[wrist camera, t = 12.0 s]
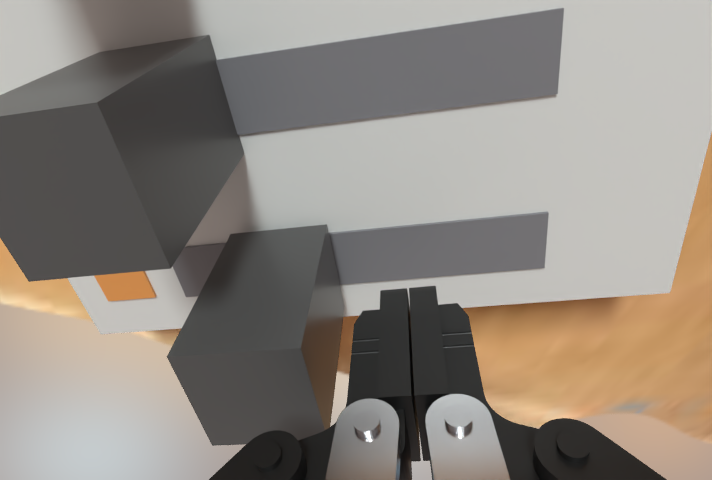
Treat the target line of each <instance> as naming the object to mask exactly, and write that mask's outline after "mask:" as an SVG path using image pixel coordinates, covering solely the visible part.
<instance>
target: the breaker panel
mask: <svg viewBox="0 0 712 480" xmlns="http://www.w3.org/2000/svg"><path fill="white" fill-rule="evenodd" d="M711 132H712V0H0V238H1V239H2V241H3V243H4V244H5V246H6V247H7V249H8V250H9V252H10V253H11V255H12V256H13V258H14V259H15V261H16V262H17V264H18V265H19V267H20V269H21V270H22V272H23V273H24V275H25V276H26V278H27V279H28V281H40V280H51V279H62V278H68V280H69V282H70V283H71V285H72V287H73V288H74V290H75V292H76V293H77V295H78V297H79V299H80V300H81V302H82V304H83V305H84V307H85V309H86V310H87V312H88V314H89V315H90V317H91V319H92V320H93V322H94V324H95V325H96V327H97V329H98V330H99V332H100V334H111V333H125V332H139V331H153V330H167V329H180V328H182V327H183V325H184V323H185V321H186V319H187V317H188V315H189V313H190V311H191V310H192V308H193V306H194V304H195V302H196V300H197V298H198V296H199V294H200V292H201V290H202V288H203V286H204V284H205V283H206V281H207V279H208V277H209V275H210V273H211V271H212V269H213V267H214V265H215V263H216V261H217V259H218V258H219V256H220V254H221V252H222V250H223V248H224V246H225V244H226V242H227V240H228V238H229V236H230V234H234V233H244V232H254V231H264V230H275V229H285V228H295V227H305V226H315V225H325V224H327V226H328V231H329V235H330V240H331V245H332V249H333V254H334V259H335V264H336V268H337V273H338V278H339V282H340V287H341V292H342V296H343V301H344V306H345V307H344V315H343V317H345V316H359V315H361V313H362V311H366V310H378V309H380V291H381V290H391V289H403V288H407V291H408V298H409V288H414V287H425V286H436V292H437V300H438V305H440V304H453V303H458V304H459V305H460V307H461V308H469V307H482V306H496V305H510V304H524V303H537V302H551V301H565V300H579V299H592V298H606V297H620V296H634V295H647V294H661V293H670V291H671V287H672V283H673V279H674V275H675V271H676V268H677V264H678V260H679V256H680V252H681V248H682V244H683V240H684V236H685V233H686V229H687V225H688V221H689V217H690V213H691V209H692V205H693V202H694V198H695V194H696V190H697V186H698V182H699V178H700V174H701V171H702V167H703V163H704V159H705V155H706V151H707V147H708V143H709V140H710V136H711ZM409 306H410V298H409Z"/></svg>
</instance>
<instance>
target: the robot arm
mask: <svg viewBox="0 0 712 480" xmlns="http://www.w3.org/2000/svg"><path fill="white" fill-rule="evenodd" d="M409 298H410V306H409ZM409 298H408V291H407V288H403V289H391V290H381V291H380V309H378V310H366V311H362V313H361V315H360V316H359V318H358V319H357V321H356V322H355V324H354V331H353V343H352V355H351V364H350V375H349V386H348V397H347V404H346V408H345V409H344V410H343V411H342V412H341V414H340V415H339V417H338V419H337V422H336V423H335V424H334V425H332V426H331V427H330V428H328V429H326V430H325V431H323V432H320V433H318V434H315V435H312V436H309V437H307V438H304V439H301V440H297V439H296V438H295V437H294V436H293V435H292V434H290V433H288V432H286V431H281V430H273V431H268V432H265V433H262V434H260V435H258V436H257V437H255V438H253V439H252V440H251V441H250V442H249V443H248V444H246V445H245V446H244V447H243V448H242V449H241V450H240V451H239V452H238V453H237V454H236V455H235V456H234V457H233V458H232V459H230V460H229V461H228V462H227V463H226V464H225V465H224V466H223V467H222V468H221V469H220V470H219V471H218V472H216V474H214V475H213V476H212V477H211V478H210V479H209V480H412V471H411V470H412V468H411V461H420V460H421V459H420V441H419V432H420V439H421V446H422V454H423V460H424V461H428V460H429V461H430V464H431V472H432V480H666V479H665V478H663V477H662V476H661V475H659V474H658V473H656V472H655V471H654V470H652V469H651V468H649V467H648V466H647V465H645V464H644V463H642V462H641V461H639V460H638V459H637V458H635V457H634V456H633V455H631V454H630V453H628V452H627V451H626V450H624V449H623V448H621V447H620V446H618V445H617V444H615V443H614V442H613V441H611V440H610V439H609V438H607V437H606V436H604V435H603V434H602V433H600V432H599V431H597V430H596V429H594V428H593V427H591V426H590V425H588V424H586V423H584V422H581V421H578V420H574V419H565V418H562V419H555V420H551V421H549V422H547V423H545V424H544V425H542V426H541V427H540V428H539V429H536V428H532V427H528V426H524V425H520V424H516V423H513V422H511V421H508V420H506V419H504V418H503V417H501V416H500V415H498V414H497V413H496V412H495V411H494V410H493V409H492V408H491V407H490V406H489V404H488V403H487V401H486V399H485V396H484V392H483V387H482V382H481V377H480V372H479V367H478V362H477V357H476V352H475V347H474V342H473V337H472V333H471V327H470V322H469V317H468V315H467V314H466V313H465V311H464V310H463V309H462V308H461V307H460V305H459V304H458V303H453V304H440V305H438V300H437V292H436V286H425V287H414V288H409Z"/></svg>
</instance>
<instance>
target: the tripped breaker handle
mask: <svg viewBox="0 0 712 480" xmlns="http://www.w3.org/2000/svg"><path fill="white" fill-rule="evenodd" d="M344 307H345V306H344V301H343V296H342V292H341V287H340V282H339V278H338V273H337V268H336V264H335V259H334V254H333V249H332V245H331V240H330V235H329V231H328V226H327V224H325V225H315V226H305V227H295V228H285V229H275V230H264V231H254V232H244V233H234V234H230V236H229V238H228V240H227V242H226V244H225V246H224V248H223V250H222V252H221V254H220V256H219V258H218V259H217V261H216V263H215V265H214V267H213V269H212V271H211V273H210V275H209V277H208V279H207V281H206V283H205V284H204V286H203V288H202V290H201V292H200V294H199V296H198V298H197V300H196V302H195V304H194V306H193V308H192V310H191V311H190V313H189V315H188V317H187V319H186V321H185V323H184V325H183V327H182V329H181V331H180V333H179V335H178V336H177V338H176V340H175V342H174V344H173V346H172V348H171V350H170V352H169V354H168V356H167V358H168V360H169V362H170V363H171V366H172V368H173V370H174V372H175V374H176V375H177V377H178V379H179V381H180V383H181V385H182V387H183V389H184V391H185V393H186V395H187V397H188V399H189V401H190V403H191V405H192V406H193V408H194V410H195V413H196V414H197V416H198V418H199V420H200V422H201V424H202V426H203V428H204V430H205V432H206V434H207V436H208V438H209V440H210V442H211V444H212V445H236V444H248V443H249V442H250V441H251V440H252V439H253V438H255V437H257V436H258V435H260V434H262V433H265V432H268V431H273V430H281V431H286V432H288V433H290V434H292V435H293V436H294V437H295V438H296V439H297V440H301V439H304V438H307V437H309V436H312V435H315V434H318V433H320V432H323V431H325V430H326V429H328V428H330V422H331V414H332V406H333V398H334V389H335V381H336V373H337V365H338V357H339V348H340V340H341V332H342V324H343V315H344Z"/></svg>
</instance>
